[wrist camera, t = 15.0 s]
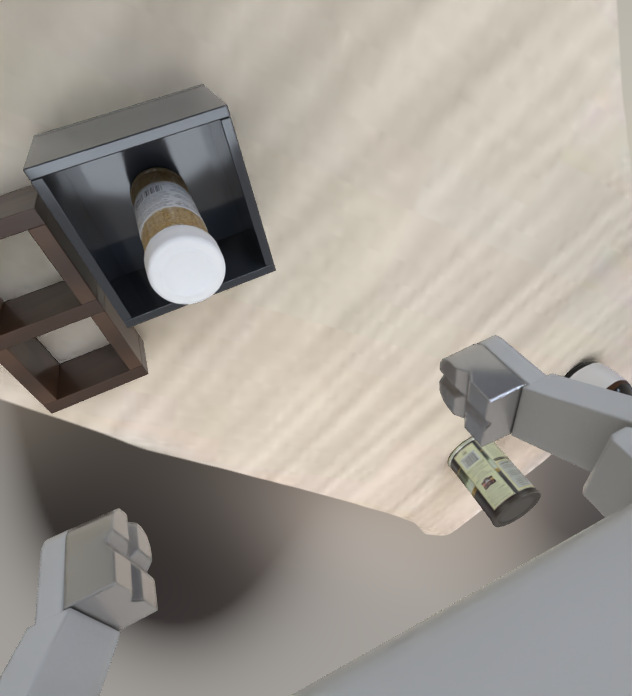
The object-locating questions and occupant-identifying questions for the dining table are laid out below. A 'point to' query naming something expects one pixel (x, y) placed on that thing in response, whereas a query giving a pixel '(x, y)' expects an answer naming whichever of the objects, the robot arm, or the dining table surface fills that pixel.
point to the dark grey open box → (116, 181)
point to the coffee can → (493, 481)
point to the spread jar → (600, 377)
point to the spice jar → (175, 239)
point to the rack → (61, 317)
